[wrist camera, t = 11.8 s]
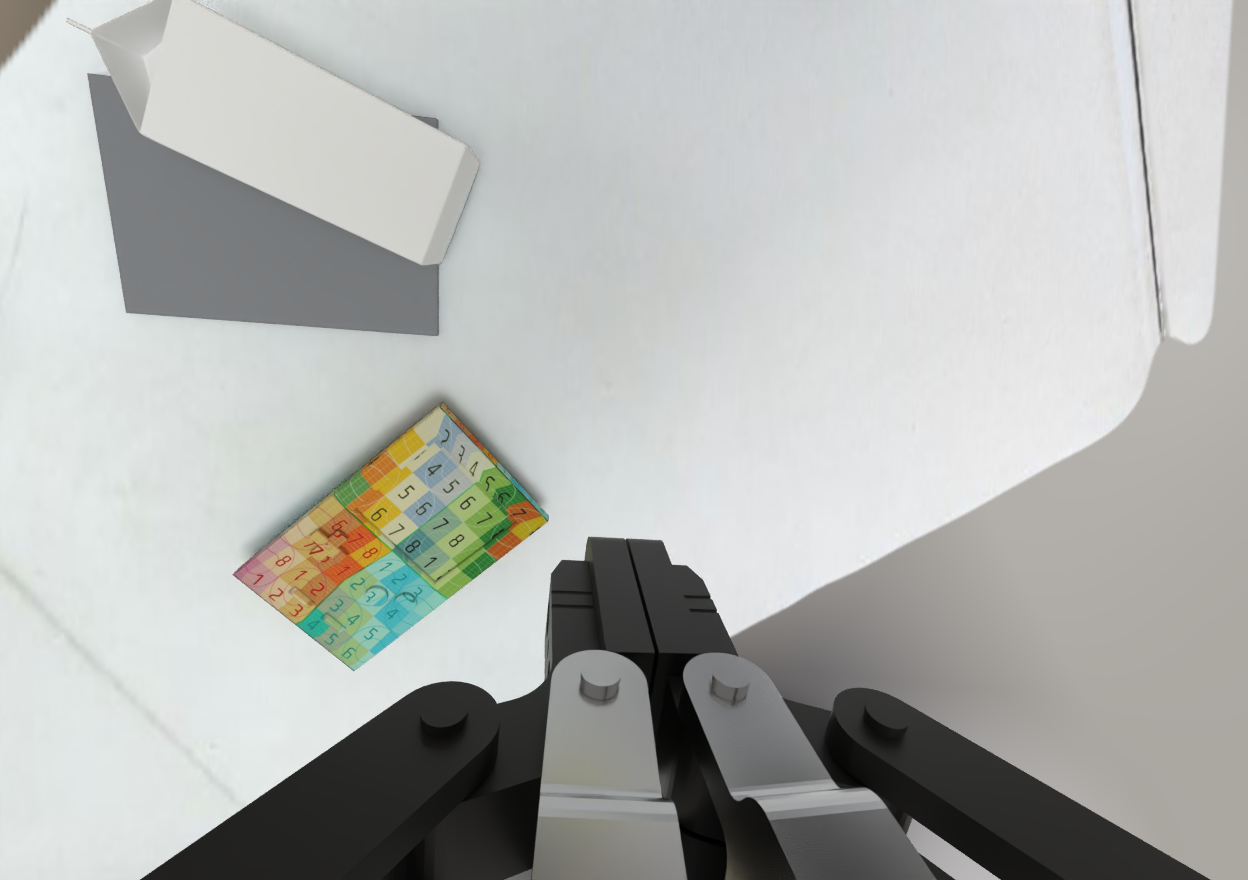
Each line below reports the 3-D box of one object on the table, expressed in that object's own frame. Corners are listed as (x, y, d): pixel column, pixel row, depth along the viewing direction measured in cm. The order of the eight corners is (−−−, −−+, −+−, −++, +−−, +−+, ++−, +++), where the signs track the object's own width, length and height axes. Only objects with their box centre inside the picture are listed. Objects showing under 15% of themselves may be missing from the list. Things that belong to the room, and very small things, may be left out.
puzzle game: (225, 581, 41) (437, 409, 39) (256, 549, 46) (448, 393, 44) (349, 679, 45) (548, 526, 43) (367, 640, 49) (548, 501, 48)
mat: (95, 76, 35) (87, 73, 34) (438, 120, 38) (436, 118, 37) (132, 311, 39) (126, 312, 38) (438, 334, 42) (437, 336, 41)
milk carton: (483, 164, 38) (174, 2, 34) (470, 145, 32) (81, -60, 27) (444, 264, 40) (144, 123, 35) (424, 267, 33) (50, 93, 29)
